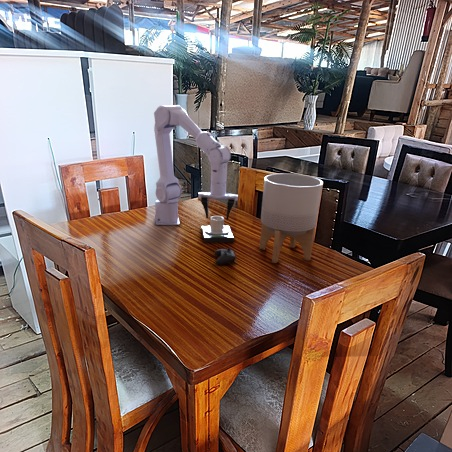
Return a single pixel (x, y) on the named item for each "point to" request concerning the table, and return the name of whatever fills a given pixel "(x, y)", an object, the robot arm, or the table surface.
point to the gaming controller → (225, 256)
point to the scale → (217, 235)
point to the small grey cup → (216, 223)
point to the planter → (290, 211)
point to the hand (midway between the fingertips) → (217, 218)
